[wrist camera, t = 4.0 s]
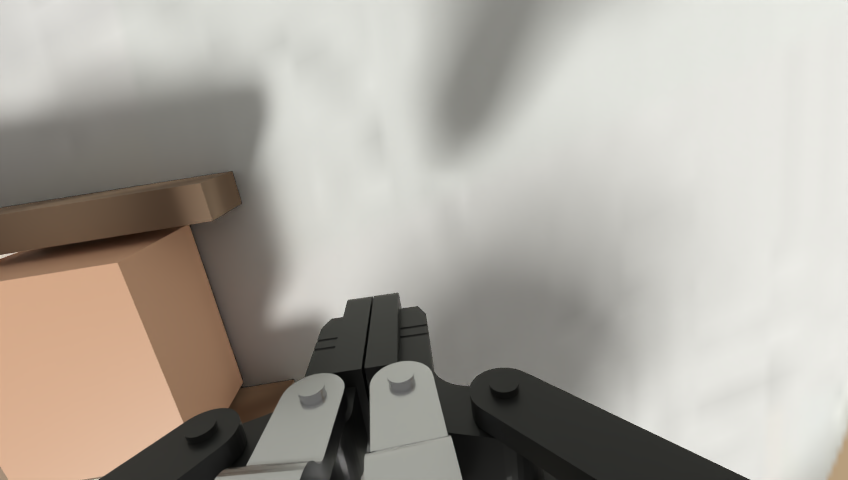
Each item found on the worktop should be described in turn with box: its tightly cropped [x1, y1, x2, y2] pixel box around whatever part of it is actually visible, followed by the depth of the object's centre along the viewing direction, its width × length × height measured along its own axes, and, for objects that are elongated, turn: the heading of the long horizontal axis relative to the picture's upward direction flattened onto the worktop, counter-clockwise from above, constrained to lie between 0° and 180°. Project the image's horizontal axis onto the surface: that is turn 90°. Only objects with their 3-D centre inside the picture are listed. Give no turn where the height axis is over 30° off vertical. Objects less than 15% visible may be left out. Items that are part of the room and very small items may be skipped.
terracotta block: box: [0, 225, 243, 480], centre depth 14 cm, size 6×7×4 cm
